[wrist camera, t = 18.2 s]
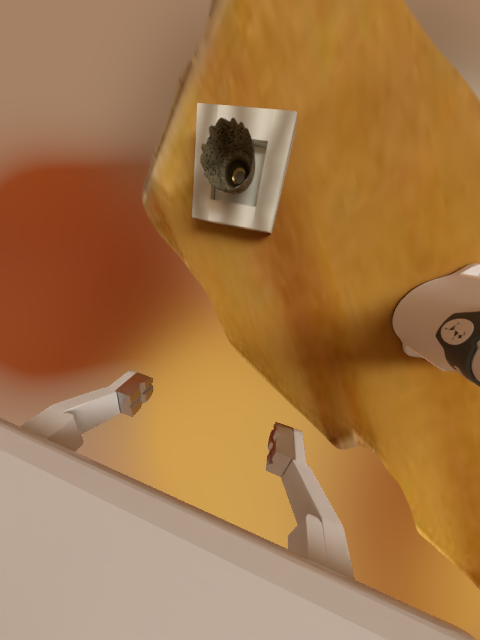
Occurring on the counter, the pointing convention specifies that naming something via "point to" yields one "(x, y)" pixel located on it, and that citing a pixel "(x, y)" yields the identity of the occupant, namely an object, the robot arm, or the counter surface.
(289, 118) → the white recessed square tray
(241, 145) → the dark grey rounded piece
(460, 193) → the counter surface
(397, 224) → the counter surface
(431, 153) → the counter surface
